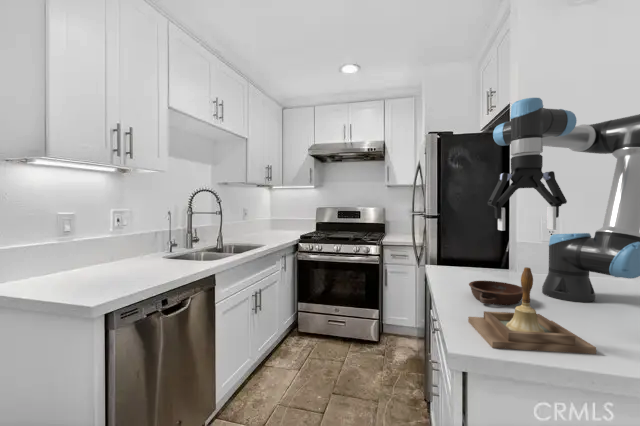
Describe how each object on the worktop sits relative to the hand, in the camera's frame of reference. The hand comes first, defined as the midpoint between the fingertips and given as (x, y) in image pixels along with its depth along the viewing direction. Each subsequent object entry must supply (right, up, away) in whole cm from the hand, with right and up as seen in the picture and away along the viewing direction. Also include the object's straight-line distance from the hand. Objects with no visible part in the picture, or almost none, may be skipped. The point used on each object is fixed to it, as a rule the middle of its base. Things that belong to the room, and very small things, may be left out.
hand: (526, 229), depth 89 cm
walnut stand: (-7, -27, -10) cm, 29 cm away
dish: (+3, -26, +20) cm, 33 cm away
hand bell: (-7, -25, -10) cm, 28 cm away
